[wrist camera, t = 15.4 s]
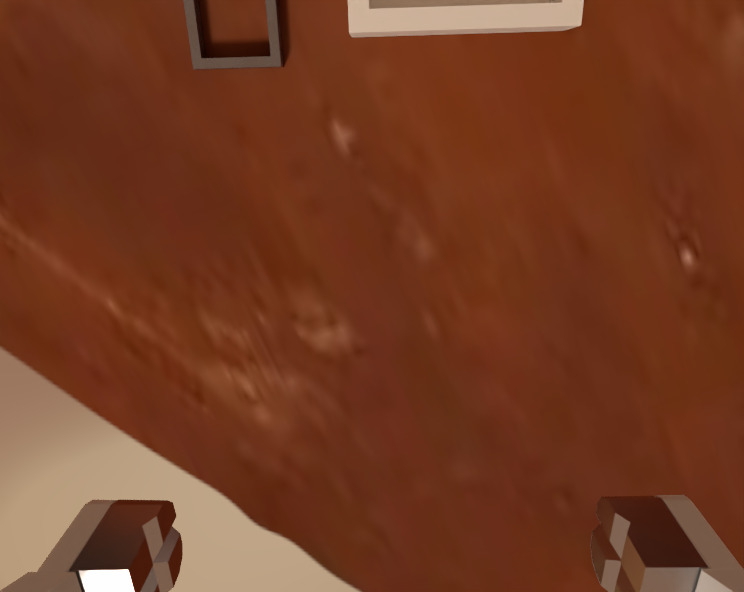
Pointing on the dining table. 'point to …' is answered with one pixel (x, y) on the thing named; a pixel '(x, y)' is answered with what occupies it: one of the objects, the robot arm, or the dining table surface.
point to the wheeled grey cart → (233, 62)
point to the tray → (460, 16)
